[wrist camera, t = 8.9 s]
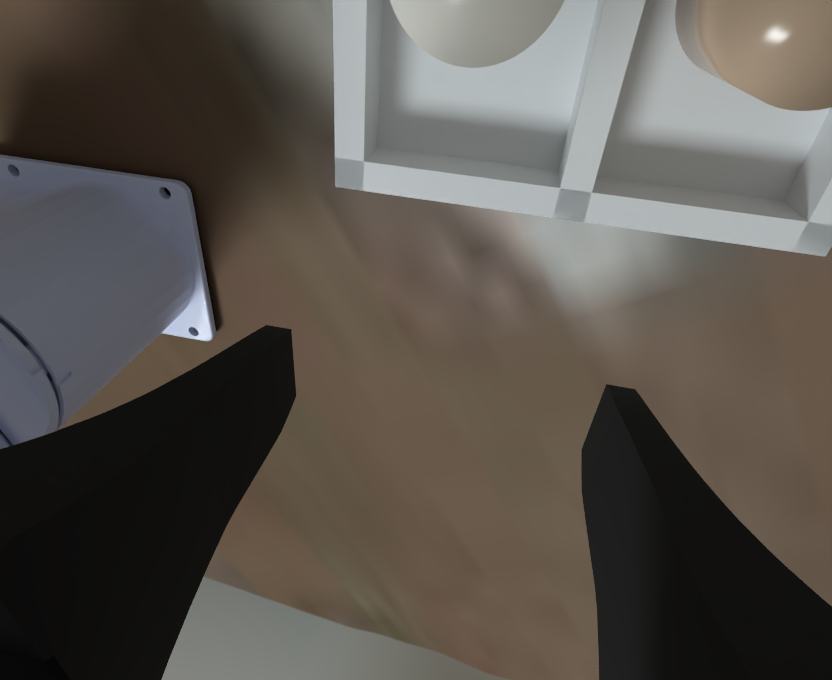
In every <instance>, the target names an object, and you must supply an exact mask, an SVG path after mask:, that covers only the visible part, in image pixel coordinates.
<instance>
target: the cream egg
mask: <svg viewBox="0 0 832 680" xmlns="http://www.w3.org/2000/svg"><path fill="white" fill-rule="evenodd" d="M390 2H391V5H392V7H393V10H394V12H395V14H396V16H397V18H398V20H399V22H400V24H401V25H402V27H403V28H404V30H405V31H406V33H407V34H408V35H409V36H410V37H411V39H412V40H413V41H414V42H415V43H416V44H417V45H418V46H419V47H420V48H422V49H423V50H424V51H425V52H427V53H428V54H430V55H431V56H433V57H434V58H436V59H438V60H440V61H443V62H445V63H447V64H451V65H454V66H459V67H466V68H481V67H488V66H493V65H496V64H499V63H502V62H505V61H507V60H509V59H511V58H513V57H515V56H517V55H518V54H520V53H521V52H523V51H525V50H526V49H527V48H528V47H530V46H531V45H532V44H533V43H534V42H536V40H537V39H538V38H539V37H540V36H541V35H542V34H543V33H544V32H545V31H546V30H547V28H548V27H549V26H550V24H551V23H552V22H553V20H554V19H555V17H556V15H557V14H558V12H559V10H560V9H561V7H562V5H563V3H564V0H390Z"/></svg>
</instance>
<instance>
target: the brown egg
mask: <svg viewBox="0 0 832 680" xmlns="http://www.w3.org/2000/svg"><path fill="white" fill-rule="evenodd" d="M675 24H676V32H677V36H678V39H679V42H680V44H681V47H682V49H683V51H684V52H685V54H686V55H687V57H688V58H689V59H690V60H691V61H692V62H693V63H694V64H695V65H696V66H697V67H699V68H700V69H702V70H704V71H706V72H707V73H709V74H711V75H713V76H715V77H717V78H719V79H721V80H723V81H725V82H726V83H728V84H730V85H732V86H734V87H736V88H738V89H740V90H742V91H744V92H745V93H747V94H749V95H751V96H753V97H755V98H757V99H759V100H761V101H763V102H765V103H766V104H769V105H772V106H774V107H777V108H781V109H786V110H793V111H812V110H821V109H826V108H831V107H832V0H677V1H676V8H675Z"/></svg>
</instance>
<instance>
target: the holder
mask: <svg viewBox="0 0 832 680" xmlns="http://www.w3.org/2000/svg"><path fill="white" fill-rule="evenodd" d="M676 1H677V0H564V3H563V5H562V7H561V9H560V10H559V12H558V14H557V15H556V17H555V19H554V20H553V22H552V23H551V24H550V26H549V27H548V28H547V30H546V31H545V32H544V33H543V34H542V35H541V36H540V37H539V38H538V39H537V40H536V42H534V43H533V44H532V45H531V46H530V47H528V48H527V49H526V50H525V51H523V52H521V53H520V54H518V55H517V56H515V57H513V58H511V59H509V60H507V61H505V62H502V63H499V64H496V65H493V66H488V67H481V68H466V67H459V66H454V65H451V64H447V63H445V62H443V61H440V60H438V59H436V58H434V57H433V56H431V55H430V54H428V53H427V52H425V51H424V50H423V49H422V48H420V47H419V46H418V45H417V44H416V43H415V42H414V41H413V40H412V39H411V37H410V36H409V35H408V34H407V33H406V31H405V30H404V28H403V27H402V25H401V24H400V22H399V20H398V18H397V16H396V14H395V12H394V10H393V7H392V5H391V2H390V0H333V50H334V124H335V187H340V188H347V189H354V190H361V191H368V192H375V193H382V194H389V195H396V196H403V197H410V198H417V199H424V200H431V201H438V202H445V203H453V204H460V205H467V206H474V207H481V208H488V209H495V210H502V211H509V212H516V213H523V214H530V215H537V216H544V217H551V218H558V219H565V220H572V221H579V222H586V223H593V224H600V225H607V226H614V227H621V228H629V229H636V230H643V231H650V232H657V233H664V234H671V235H678V236H685V237H692V238H699V239H706V240H713V241H720V242H727V243H734V244H741V245H748V246H755V247H762V248H769V249H776V250H783V251H790V252H797V253H804V254H812V255H819V256H826V255H827V253H828V252H829V250H830V248H831V247H832V107H831V108H826V109H821V110H812V111H793V110H786V109H781V108H777V107H774V106H772V105H769V104H766V103H765V102H763V101H761V100H759V99H757V98H755V97H753V96H751V95H749V94H747V93H745V92H744V91H742V90H740V89H738V88H736V87H734V86H732V85H730V84H728V83H726V82H725V81H723V80H721V79H719V78H717V77H715V76H713V75H711V74H709V73H707V72H706V71H704V70H702V69H700V68H699V67H697V66H696V65H695V64H694V63H693V62H692V61H691V60H690V59H689V58H688V57H687V55H686V54H685V52H684V51H683V49H682V47H681V44H680V42H679V39H678V36H677V32H676V24H675V8H676Z"/></svg>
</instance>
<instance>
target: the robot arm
mask: <svg viewBox="0 0 832 680" xmlns="http://www.w3.org/2000/svg"><path fill="white" fill-rule="evenodd" d="M16 168H17V169H18V170H19V171H17V169H16ZM164 187H165V188H167V189H168V190H169V191H170V194H171V196H169V195H168V194H167V193H166V192H165V190H164ZM193 327H194V328H196V329H197V330H198V331H196V330H195V329H194V328H193ZM161 333H164V334H169V335H175V336H180V337H186V338H191V339H197V340H202V341H210V340H212V338H213V337H214V336H215V335H216V328H215V322H214V317H213V311H212V306H211V300H210V294H209V289H208V283H207V277H206V272H205V266H204V260H203V255H202V249H201V244H200V238H199V232H198V227H197V221H196V215H195V210H194V204H193V199H192V193H191V191H190V188H189V187H188V186H187V185H186V184H185V183H184V182H182V181H179V180H173V179H166V178H159V177H152V176H145V175H138V174H131V173H125V172H118V171H111V170H104V169H97V168H90V167H83V166H76V165H70V164H63V163H56V162H49V161H42V160H35V159H28V158H21V157H15V156H8V155H1V154H0V680H161V679H162V676H163V673H164V671H165V668H166V666H167V663H168V660H169V657H170V655H171V653H172V650H173V648H174V645H175V643H176V640H177V638H178V635H179V633H180V630H181V628H182V626H183V623H184V621H185V618H186V615H187V613H188V610H189V608H190V606H191V604H192V601H193V599H194V597H195V594H196V592H197V590H198V587H199V585H200V583H201V581H202V578H203V576H204V574H205V571H206V569H207V567H208V565H209V562H210V560H211V558H212V556H213V554H214V552H215V549H216V547H217V545H218V543H219V541H220V539H221V536H222V534H223V532H224V530H225V528H226V526H227V524H228V522H229V520H230V518H231V517H232V515H233V513H234V511H235V509H236V508H237V506H238V504H239V502H240V501H241V499H242V497H243V496H244V494H245V492H246V491H247V489H248V487H249V486H250V484H251V482H252V481H253V479H254V477H255V476H256V474H257V472H258V471H259V469H260V467H261V465H262V464H263V462H264V460H265V459H266V457H267V455H268V454H269V452H270V450H271V448H272V447H273V445H274V443H275V442H276V440H277V438H278V436H279V435H280V433H281V431H282V429H283V426H284V424H285V422H286V419H287V417H288V415H289V412H290V410H291V407H292V405H293V402H294V400H295V397H296V387H295V374H294V361H293V348H292V335H291V329H285V328H280V327H274V326H268V325H266V326H264V327H262V328H260V329H259V330H257V331H255V332H253V333H252V334H250V335H248V336H247V337H245V338H244V339H242V340H240V341H239V342H237V343H235V344H234V345H232V346H230V347H229V348H227V349H226V350H224V351H222V352H221V353H219V354H217V355H216V356H214V357H212V358H210V359H209V360H207V361H205V362H204V363H202V364H200V365H199V366H197V367H195V368H194V369H192V370H190V371H188V372H186V373H184V374H183V375H181V376H179V377H177V378H175V379H173V380H171V381H170V382H168V383H166V384H164V385H162V386H160V387H158V388H157V389H155V390H153V391H151V392H149V393H147V394H145V395H143V396H141V397H138V398H136V399H134V400H132V401H130V402H128V403H125V404H123V405H121V406H119V407H116V408H114V409H112V410H109V411H107V412H105V413H102V414H100V415H98V416H95V417H92V418H90V419H87V420H84V421H82V422H79V423H76V424H74V425H71V426H68V427H66V428H63V429H60V428H61V427H62V426H63V425H64V424H65V423H66V422H67V421H68V420H69V419H70V418H71V417H72V416H73V415H74V414H76V413H77V412H78V411H79V410H80V409H81V408H82V407H83V406H84V405H85V404H86V403H87V402H88V401H89V400H90V399H91V398H93V397H94V396H95V395H96V394H97V393H98V392H99V391H100V390H101V389H102V388H103V387H104V386H105V385H106V384H107V383H108V382H110V381H111V380H112V379H113V378H114V377H115V376H116V375H117V374H118V373H119V372H120V371H121V370H122V369H123V368H124V367H125V366H127V365H128V364H129V363H130V362H131V361H132V360H133V359H134V358H135V357H136V356H137V355H138V354H139V353H140V352H141V351H142V350H144V349H145V348H146V347H147V346H148V345H149V344H150V343H151V342H152V341H153V340H154V339H155V338H156V337H157V336H158V335H159V334H161ZM59 429H60V430H59ZM582 496H583V504H584V511H585V519H586V526H587V533H588V540H589V547H590V554H591V562H592V569H593V576H594V583H595V591H596V602H597V617H598V645H599V680H832V606H830V605H829V604H828V603H827V602H826V601H824V600H823V599H822V598H821V597H820V596H819V595H817V594H816V593H815V592H814V591H813V590H812V589H811V588H810V587H808V586H807V585H806V584H805V583H804V582H803V581H802V580H801V579H799V578H798V577H797V576H796V575H795V574H794V573H793V572H792V571H790V570H789V569H788V568H787V567H786V566H785V565H784V564H783V563H782V562H781V561H780V560H779V559H777V558H776V557H775V556H774V555H773V554H772V553H771V552H770V551H769V550H768V549H767V548H766V547H765V546H764V545H763V544H762V543H761V542H760V541H759V540H758V539H757V538H756V537H755V536H754V535H753V534H752V533H751V532H750V531H749V530H748V529H747V528H746V527H745V526H744V525H743V524H742V523H741V522H740V521H739V520H738V519H737V518H736V516H735V515H734V514H733V513H732V512H731V511H730V510H729V509H728V508H727V507H726V506H725V504H724V503H723V502H722V501H721V500H720V499H719V498H718V496H717V495H716V494H715V493H714V492H713V491H712V489H711V488H710V487H709V486H708V485H707V484H706V483H705V481H704V480H703V479H702V478H701V477H700V475H699V474H698V473H697V472H696V470H695V469H694V468H693V467H692V465H691V464H690V463H689V462H688V460H687V459H686V458H685V457H684V455H683V454H682V453H681V451H680V450H679V449H678V447H677V446H676V445H675V443H674V442H673V441H672V439H671V438H670V437H669V435H668V434H667V433H666V431H665V430H664V429H663V427H662V426H661V424H660V423H659V422H658V420H657V419H656V418H655V416H654V415H653V413H652V412H651V411H650V409H649V408H648V406H647V405H646V403H645V402H644V401H643V399H642V398H641V397H640V395H639V394H638V393H637V391H636V390H635V389H630V388H624V387H618V386H613V385H607V384H606V387H605V389H604V392H603V395H602V397H601V400H600V403H599V405H598V408H597V411H596V413H595V416H594V419H593V421H592V424H591V426H590V429H589V432H588V434H587V437H586V440H585V442H584V445H583V448H582Z"/></svg>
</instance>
